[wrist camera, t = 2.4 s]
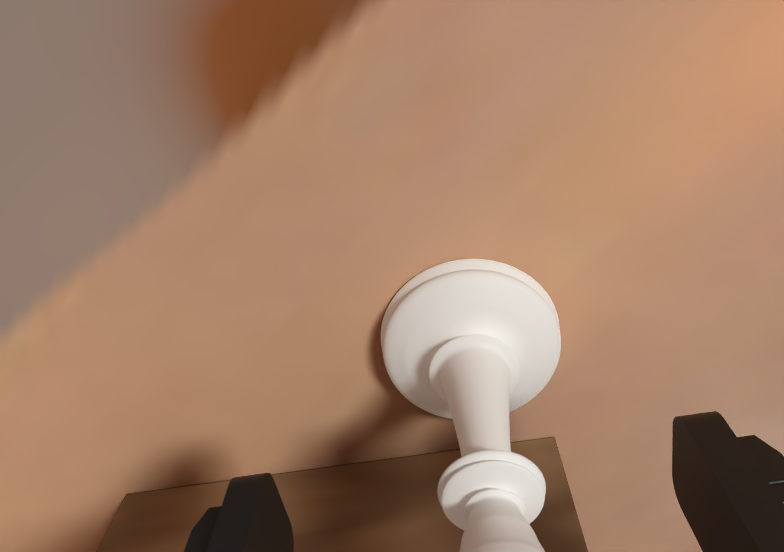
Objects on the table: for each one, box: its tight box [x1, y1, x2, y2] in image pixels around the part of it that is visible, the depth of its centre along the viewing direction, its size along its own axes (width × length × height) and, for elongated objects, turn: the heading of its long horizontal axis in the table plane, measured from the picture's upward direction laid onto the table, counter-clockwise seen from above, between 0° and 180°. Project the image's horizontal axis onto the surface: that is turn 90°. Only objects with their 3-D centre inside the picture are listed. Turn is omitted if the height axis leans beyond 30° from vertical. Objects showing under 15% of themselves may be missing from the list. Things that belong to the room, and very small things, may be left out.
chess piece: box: [381, 259, 561, 552], centre depth 13 cm, size 5×5×10 cm
